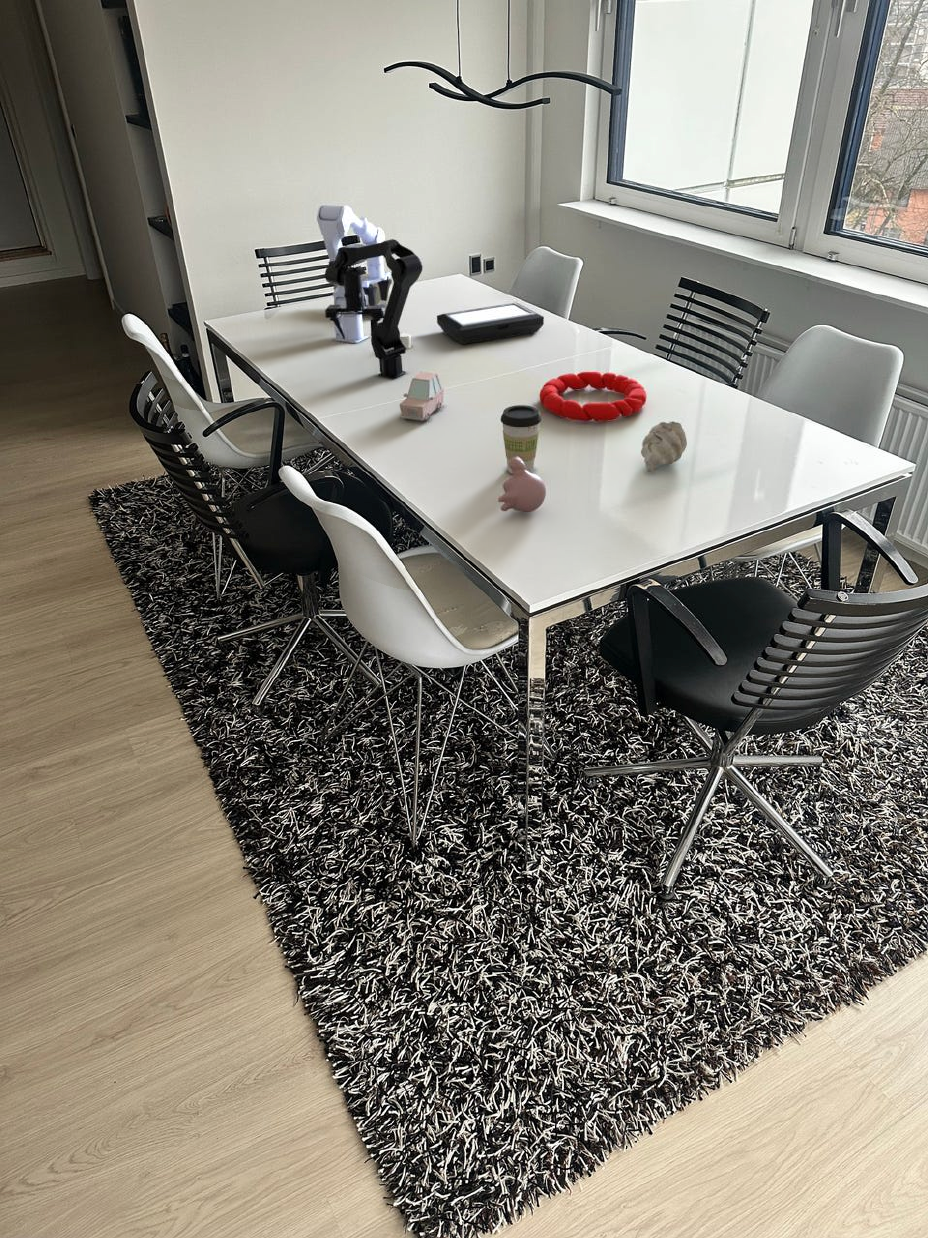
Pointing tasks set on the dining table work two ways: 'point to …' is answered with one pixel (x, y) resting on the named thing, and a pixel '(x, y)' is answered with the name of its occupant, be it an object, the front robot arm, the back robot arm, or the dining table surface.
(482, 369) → the dining table surface
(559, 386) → the decorative ring
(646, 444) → the seashell
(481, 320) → the electronic device
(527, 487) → the figurine
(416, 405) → the toy car
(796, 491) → the dining table surface
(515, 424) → the coffee cup
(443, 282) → the dining table surface
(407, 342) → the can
